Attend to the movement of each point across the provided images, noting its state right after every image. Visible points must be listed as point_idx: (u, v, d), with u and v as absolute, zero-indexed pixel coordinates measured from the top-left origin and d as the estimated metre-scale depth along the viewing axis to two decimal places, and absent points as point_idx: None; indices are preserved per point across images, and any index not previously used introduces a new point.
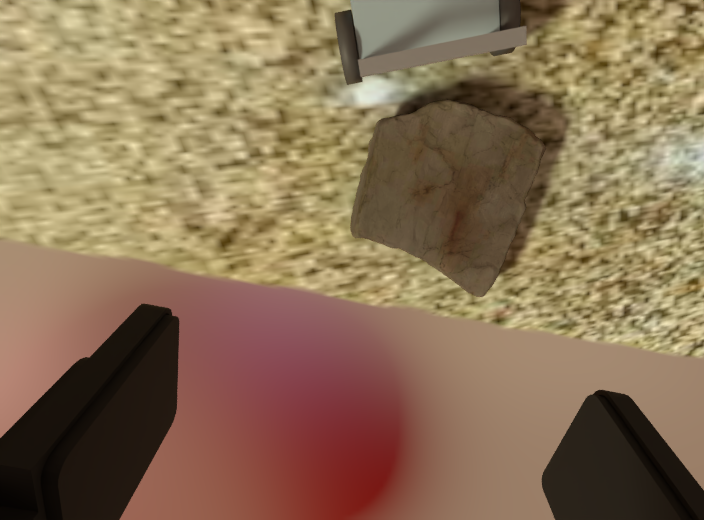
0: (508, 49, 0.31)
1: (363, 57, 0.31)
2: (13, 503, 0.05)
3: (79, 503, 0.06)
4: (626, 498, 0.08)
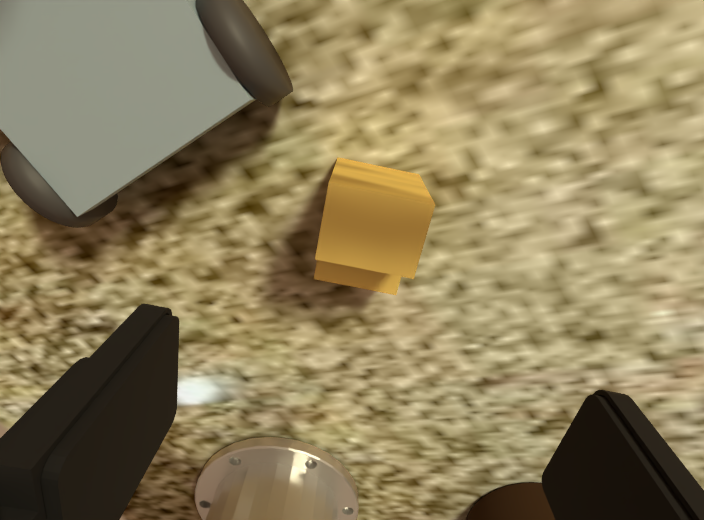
0: None
1: None
2: (13, 503, 0.05)
3: (79, 503, 0.06)
4: (626, 498, 0.08)
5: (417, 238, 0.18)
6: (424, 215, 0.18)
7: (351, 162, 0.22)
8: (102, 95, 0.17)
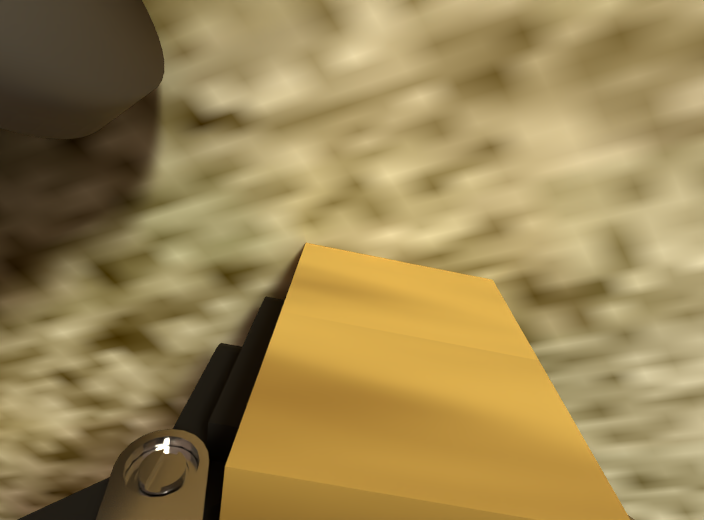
0: None
1: None
2: (219, 457, 0.06)
3: None
4: None
5: None
6: None
7: (336, 262, 0.09)
8: None
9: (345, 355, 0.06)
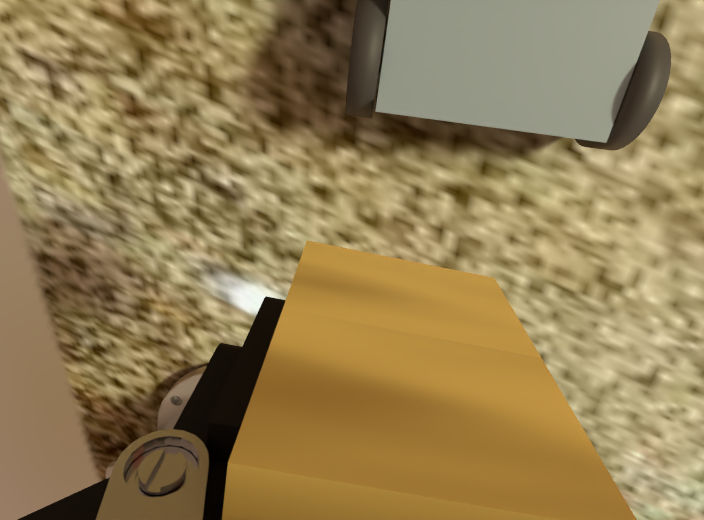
0: None
1: None
2: (219, 457, 0.06)
3: None
4: None
5: None
6: None
7: (337, 259, 0.09)
8: (508, 40, 0.17)
9: (347, 352, 0.06)
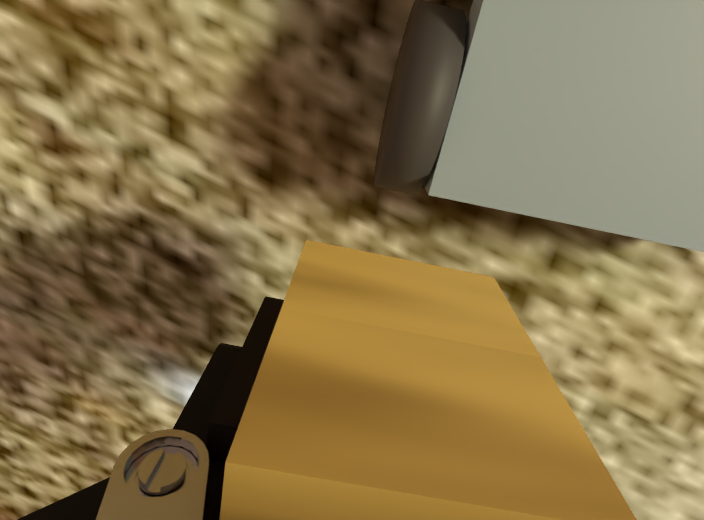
0: None
1: None
2: (219, 457, 0.06)
3: None
4: None
5: None
6: None
7: (336, 259, 0.09)
8: (663, 102, 0.10)
9: (346, 351, 0.06)
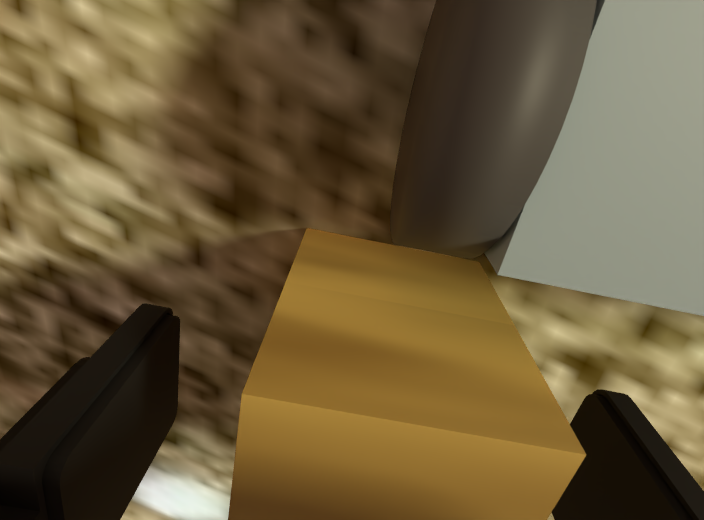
0: None
1: None
2: (15, 503, 0.05)
3: (80, 503, 0.06)
4: (625, 497, 0.08)
5: None
6: (547, 478, 0.06)
7: (334, 243, 0.10)
8: None
9: (342, 317, 0.07)
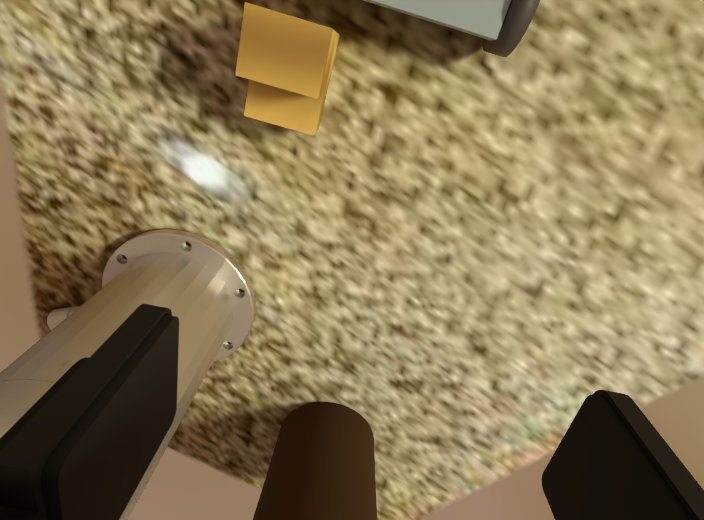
0: None
1: None
2: (13, 503, 0.05)
3: (79, 503, 0.06)
4: (626, 498, 0.08)
5: (318, 59, 0.22)
6: (323, 37, 0.22)
7: None
8: None
9: None
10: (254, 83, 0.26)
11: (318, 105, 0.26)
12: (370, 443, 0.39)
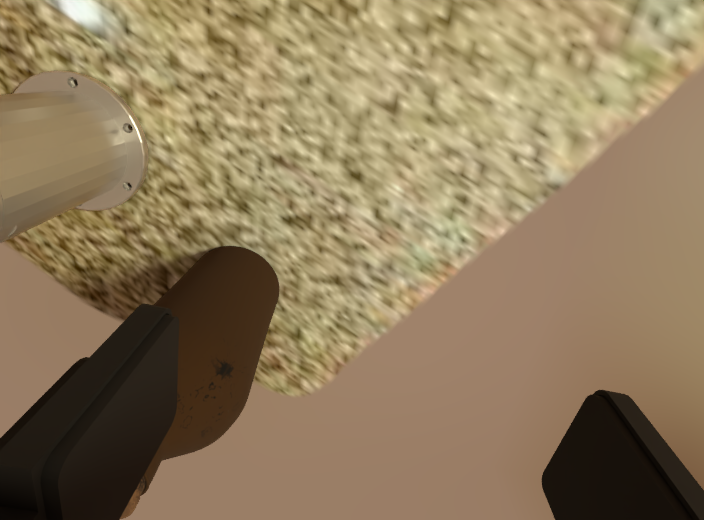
0: None
1: None
2: (13, 503, 0.05)
3: (79, 503, 0.06)
4: (626, 498, 0.08)
5: None
6: None
7: None
8: None
9: None
10: None
11: None
12: (269, 277, 0.42)
